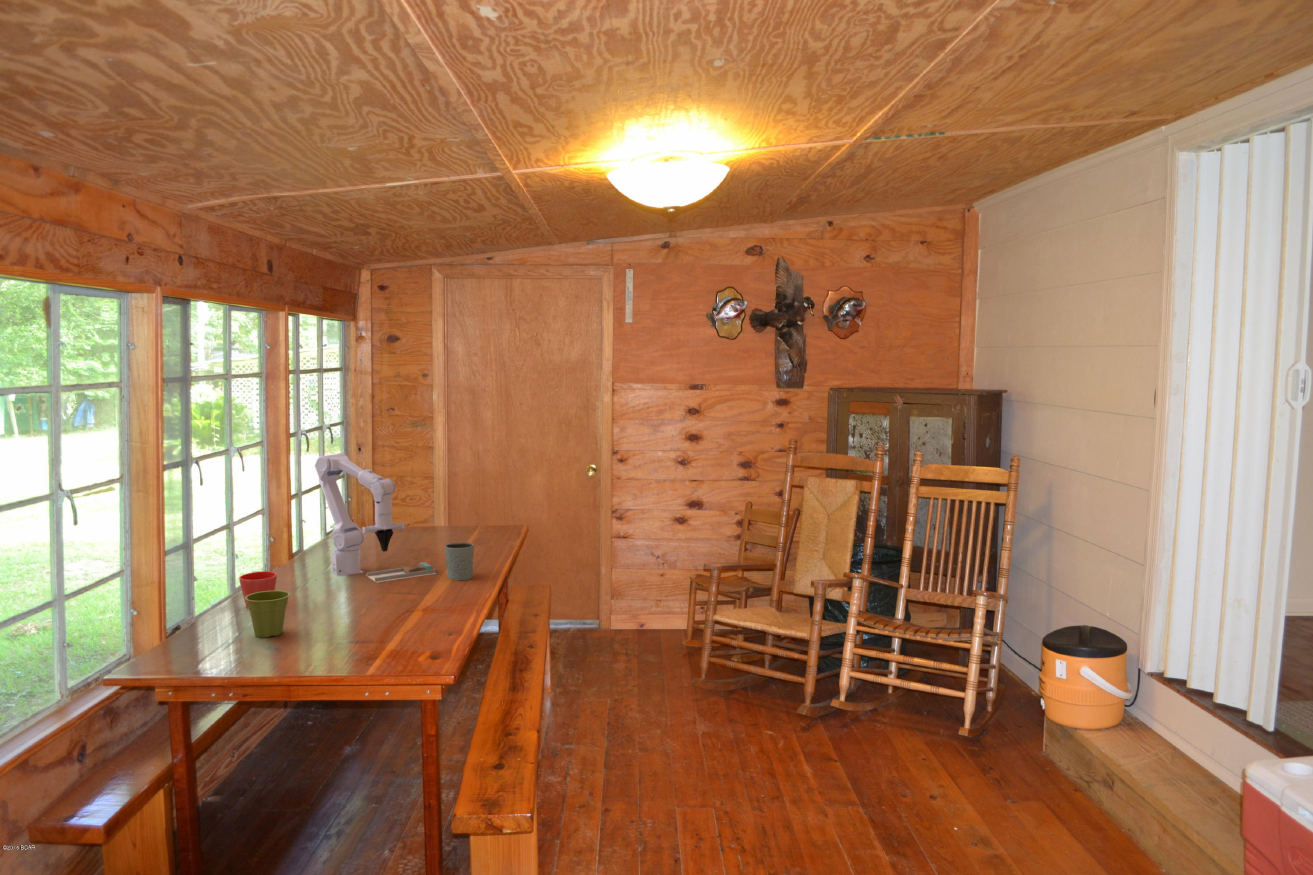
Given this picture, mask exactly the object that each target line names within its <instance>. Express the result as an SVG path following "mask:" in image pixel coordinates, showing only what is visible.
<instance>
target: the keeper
mask: <svg viewBox="0 0 1313 875" xmlns="http://www.w3.org/2000/svg"><path fill="white" fill-rule="evenodd" d="M403 567H404V573H411V572H418V571H425V567H423V566H421V565H419V564H415V565H407V566H403Z"/></svg>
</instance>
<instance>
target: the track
mask: <svg viewBox="0 0 1313 875" xmlns="http://www.w3.org/2000/svg"><path fill="white" fill-rule="evenodd" d="M418 565H421V566H423V567H425V571H418V572H411V573H404V567H405V566H403V567H397V568H391V569H382V570H375V571H370V572H369V571H368V572H366V575H365V576H366V577H367V578H369V579H370V580H372V581H374V582H375V583H381V582H388V581H390V582H391V581H397V580H402V579H403V580H404V579H409V578H416V577H423V576H430V575H437V569H436V568H433V567H432V564H429V563H428V562H425V561H423V562H419V564H418Z"/></svg>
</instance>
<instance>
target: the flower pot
mask: <svg viewBox="0 0 1313 875" xmlns="http://www.w3.org/2000/svg"><path fill="white" fill-rule="evenodd" d="M277 577H278V575H277V573H276V572H273V571H268V570H267V571H265V570H263V571H254V572H250V573H249V572H248V573H245V574H242V575H240V576H239V577H238V581H239V584H240V588H241V593H242V596H243V601H244V603H245V607H246V608H247V609H249V607H248V603H247V600H245V597H246V596H247V595H250V594H252V593H257V592H262V591H275V590H276V584H277Z"/></svg>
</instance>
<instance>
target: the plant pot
mask: <svg viewBox="0 0 1313 875" xmlns="http://www.w3.org/2000/svg"><path fill="white" fill-rule="evenodd" d="M290 596H291V592H288V591H287V590H276V589H275V591H262V592H257V593H252V594H250V595H247V596H246V597H245V600H247V603H248V607H249V608H248V610H249V612H250V617H251V623H252V628H253V631H254V632H253V633H254V635H255V637H258V638H271V637H272V636H274V637H277V636H279V635H281V634H283V631H284V625H285V617H286V610H287V604H288V603H289V602H288V601H289V597H290ZM245 600H244V601H245Z"/></svg>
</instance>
